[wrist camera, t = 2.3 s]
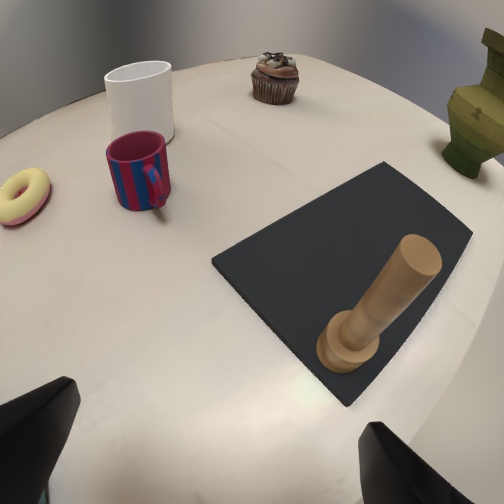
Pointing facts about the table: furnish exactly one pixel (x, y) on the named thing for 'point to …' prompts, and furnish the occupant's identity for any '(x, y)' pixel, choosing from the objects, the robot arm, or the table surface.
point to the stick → (378, 305)
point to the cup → (139, 170)
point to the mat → (341, 266)
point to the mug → (141, 98)
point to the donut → (23, 195)
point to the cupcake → (275, 79)
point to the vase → (478, 114)
